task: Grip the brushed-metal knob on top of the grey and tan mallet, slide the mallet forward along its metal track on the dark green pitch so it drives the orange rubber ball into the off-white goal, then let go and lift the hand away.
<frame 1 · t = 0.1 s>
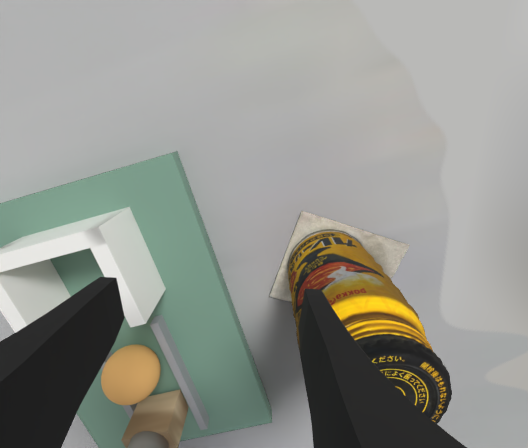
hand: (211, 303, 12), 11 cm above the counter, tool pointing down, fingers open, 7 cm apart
condiment: (336, 268, 23), on the counter
pitch: (138, 323, 25), on the counter
ball: (131, 373, 22), point 3 cm above the counter, touching pitch
goal: (107, 262, 23), resting on pitch
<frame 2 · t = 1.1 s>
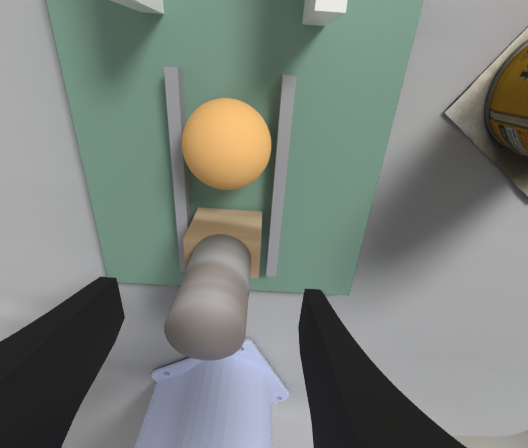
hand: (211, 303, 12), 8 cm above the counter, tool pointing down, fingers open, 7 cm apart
pitch: (234, 91, 16), on the counter
grey and tan mallet: (220, 265, 14), point 5 cm above the counter, slide at 0.0 cm
ball: (227, 145, 14), point 3 cm above the counter, touching pitch
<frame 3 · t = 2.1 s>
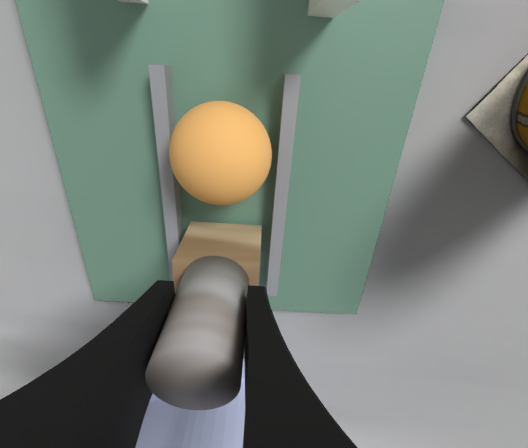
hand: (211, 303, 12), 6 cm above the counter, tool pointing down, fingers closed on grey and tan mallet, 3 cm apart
pitch: (230, 92, 14), on the counter
grey and tan mallet: (214, 290, 12), point 5 cm above the counter, slide at 0.0 cm, touching gripper
ball: (221, 154, 12), point 3 cm above the counter, touching pitch
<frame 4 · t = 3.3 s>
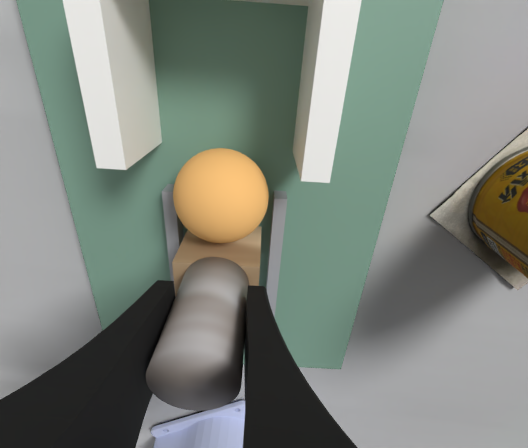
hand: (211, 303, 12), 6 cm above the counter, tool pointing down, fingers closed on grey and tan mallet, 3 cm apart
pitch: (229, 196, 16), on the counter
grey and tan mallet: (214, 291, 12), point 5 cm above the counter, slide at 5.1 cm, touching gripper
ball: (221, 196, 13), point 3 cm above the counter, tilted 96°, touching pitch
goal: (231, 79, 14), resting on pitch
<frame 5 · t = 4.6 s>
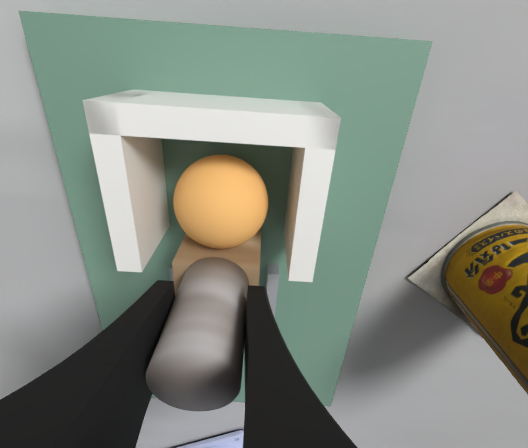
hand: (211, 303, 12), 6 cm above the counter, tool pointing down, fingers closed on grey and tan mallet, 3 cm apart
condiment: (495, 270, 19), on the counter
pitch: (229, 262, 18), on the counter
grey and tan mallet: (214, 292, 12), point 5 cm above the counter, slide at 9.4 cm, touching gripper
ball: (221, 202, 13), point 3 cm above the counter, tilted 147°, touching pitch
goal: (230, 171, 16), resting on pitch
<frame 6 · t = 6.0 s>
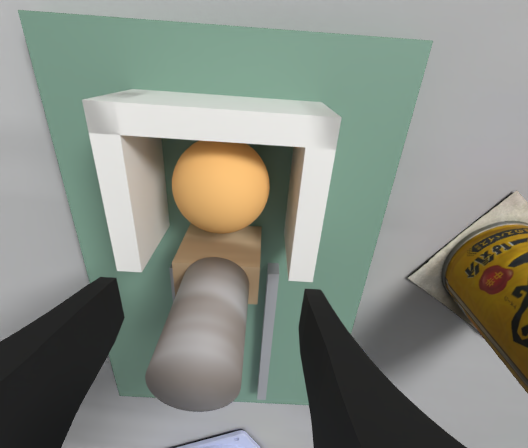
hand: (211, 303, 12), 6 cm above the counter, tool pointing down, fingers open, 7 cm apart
condiment: (496, 270, 19), on the counter
pitch: (229, 262, 18), on the counter
grey and tan mallet: (214, 292, 12), point 5 cm above the counter, slide at 9.4 cm
ball: (221, 185, 13), point 3 cm above the counter, tilted 126°, touching pitch
goal: (230, 171, 16), resting on pitch
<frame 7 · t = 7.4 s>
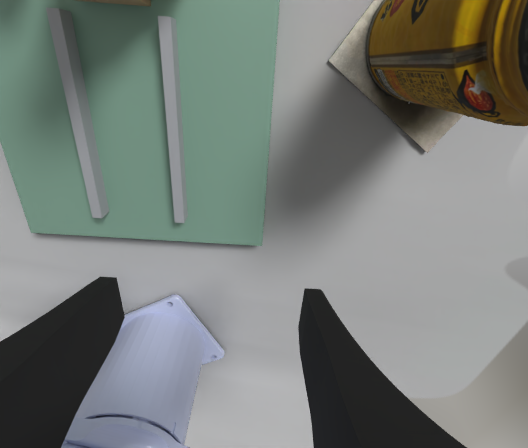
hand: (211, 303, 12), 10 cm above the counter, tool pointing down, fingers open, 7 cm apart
condiment: (426, 54, 17), on the counter
pitch: (130, 40, 17), on the counter
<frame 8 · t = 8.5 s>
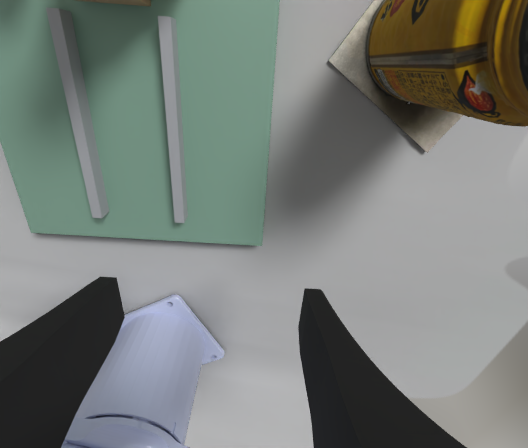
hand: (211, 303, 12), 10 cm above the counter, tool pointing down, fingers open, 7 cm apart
condiment: (426, 54, 17), on the counter
pitch: (130, 40, 17), on the counter
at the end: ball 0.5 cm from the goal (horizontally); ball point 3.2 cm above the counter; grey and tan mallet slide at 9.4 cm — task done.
